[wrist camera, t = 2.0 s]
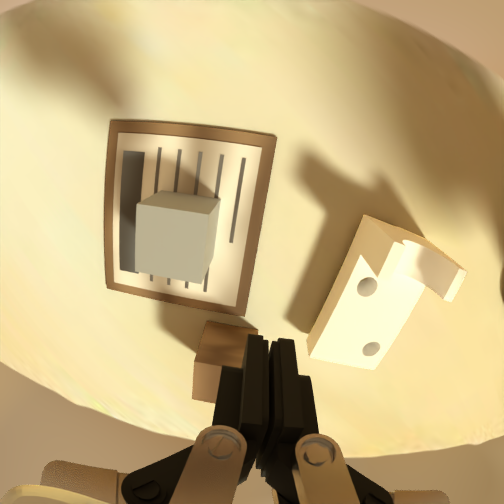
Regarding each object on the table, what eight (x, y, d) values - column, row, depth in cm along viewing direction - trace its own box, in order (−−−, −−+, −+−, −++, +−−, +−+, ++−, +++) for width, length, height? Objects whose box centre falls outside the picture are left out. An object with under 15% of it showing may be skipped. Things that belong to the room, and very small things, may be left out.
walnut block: (258, 329, 29) (255, 372, 23) (250, 366, 30) (246, 408, 25) (207, 320, 28) (194, 361, 23) (203, 357, 30) (192, 399, 25)
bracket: (360, 211, 24) (394, 241, 17) (424, 237, 24) (467, 271, 17) (305, 334, 29) (313, 389, 22) (365, 347, 29) (384, 399, 22)
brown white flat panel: (277, 137, 22) (277, 137, 22) (245, 314, 28) (244, 317, 27) (112, 120, 22) (109, 120, 21) (108, 286, 28) (105, 289, 27)
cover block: (221, 199, 24) (209, 214, 19) (213, 256, 25) (201, 284, 21) (161, 190, 23) (136, 203, 19) (157, 247, 25) (135, 271, 21)
